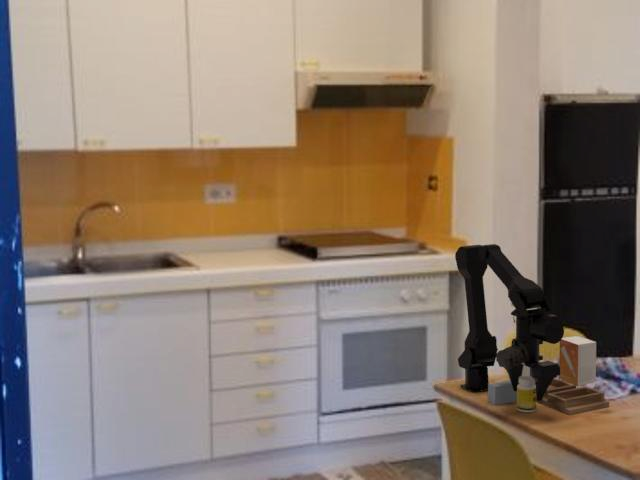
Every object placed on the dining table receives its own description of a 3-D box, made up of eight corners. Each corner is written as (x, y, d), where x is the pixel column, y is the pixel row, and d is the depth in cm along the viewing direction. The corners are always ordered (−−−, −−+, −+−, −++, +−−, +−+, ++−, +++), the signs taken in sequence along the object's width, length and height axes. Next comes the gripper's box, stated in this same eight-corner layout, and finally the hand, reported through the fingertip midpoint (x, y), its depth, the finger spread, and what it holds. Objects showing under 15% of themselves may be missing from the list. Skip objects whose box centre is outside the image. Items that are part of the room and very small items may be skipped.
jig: (518, 394, 239) (518, 382, 239) (556, 386, 245) (556, 375, 244) (569, 414, 221) (569, 402, 221) (609, 406, 227) (609, 394, 226)
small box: (558, 383, 248) (558, 338, 246) (577, 380, 250) (577, 335, 249) (577, 391, 240) (578, 344, 239) (596, 388, 243) (597, 341, 241)
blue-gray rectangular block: (488, 402, 233) (488, 384, 233) (515, 397, 237) (515, 379, 236) (495, 405, 231) (495, 386, 230) (523, 400, 234) (523, 381, 234)
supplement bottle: (536, 413, 223) (536, 380, 222) (517, 412, 224) (517, 380, 223) (535, 407, 228) (535, 375, 227) (516, 406, 229) (516, 374, 228)
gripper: (479, 332, 228) (479, 391, 230) (525, 347, 212) (525, 411, 214) (514, 326, 233) (514, 384, 235) (562, 341, 216) (561, 403, 218)
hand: (527, 395), depth 225 cm, fingers open, 9 cm apart
